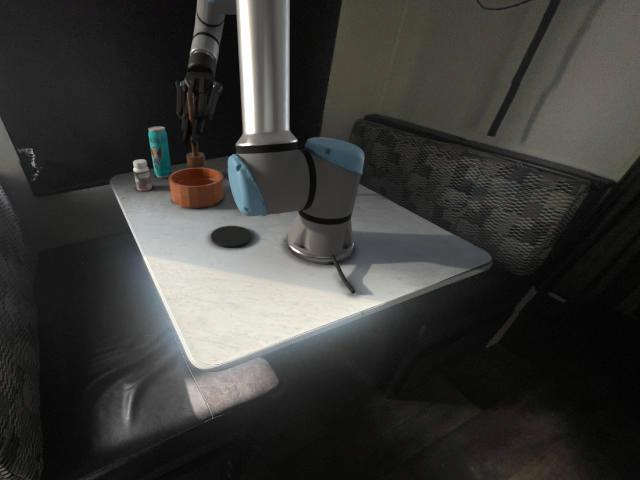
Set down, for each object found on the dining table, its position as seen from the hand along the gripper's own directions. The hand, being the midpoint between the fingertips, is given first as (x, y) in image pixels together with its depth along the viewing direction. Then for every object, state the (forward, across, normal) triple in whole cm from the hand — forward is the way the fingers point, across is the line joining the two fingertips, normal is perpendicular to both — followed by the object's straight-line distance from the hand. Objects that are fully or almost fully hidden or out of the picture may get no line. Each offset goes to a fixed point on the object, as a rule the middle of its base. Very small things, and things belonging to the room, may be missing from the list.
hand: (189, 143), depth 89 cm
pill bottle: (+8, +19, -15) cm, 25 cm away
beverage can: (0, +17, -23) cm, 29 cm away
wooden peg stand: (+2, 0, -8) cm, 8 cm away
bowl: (+10, 0, -12) cm, 16 cm away
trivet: (+25, -16, +3) cm, 30 cm away
